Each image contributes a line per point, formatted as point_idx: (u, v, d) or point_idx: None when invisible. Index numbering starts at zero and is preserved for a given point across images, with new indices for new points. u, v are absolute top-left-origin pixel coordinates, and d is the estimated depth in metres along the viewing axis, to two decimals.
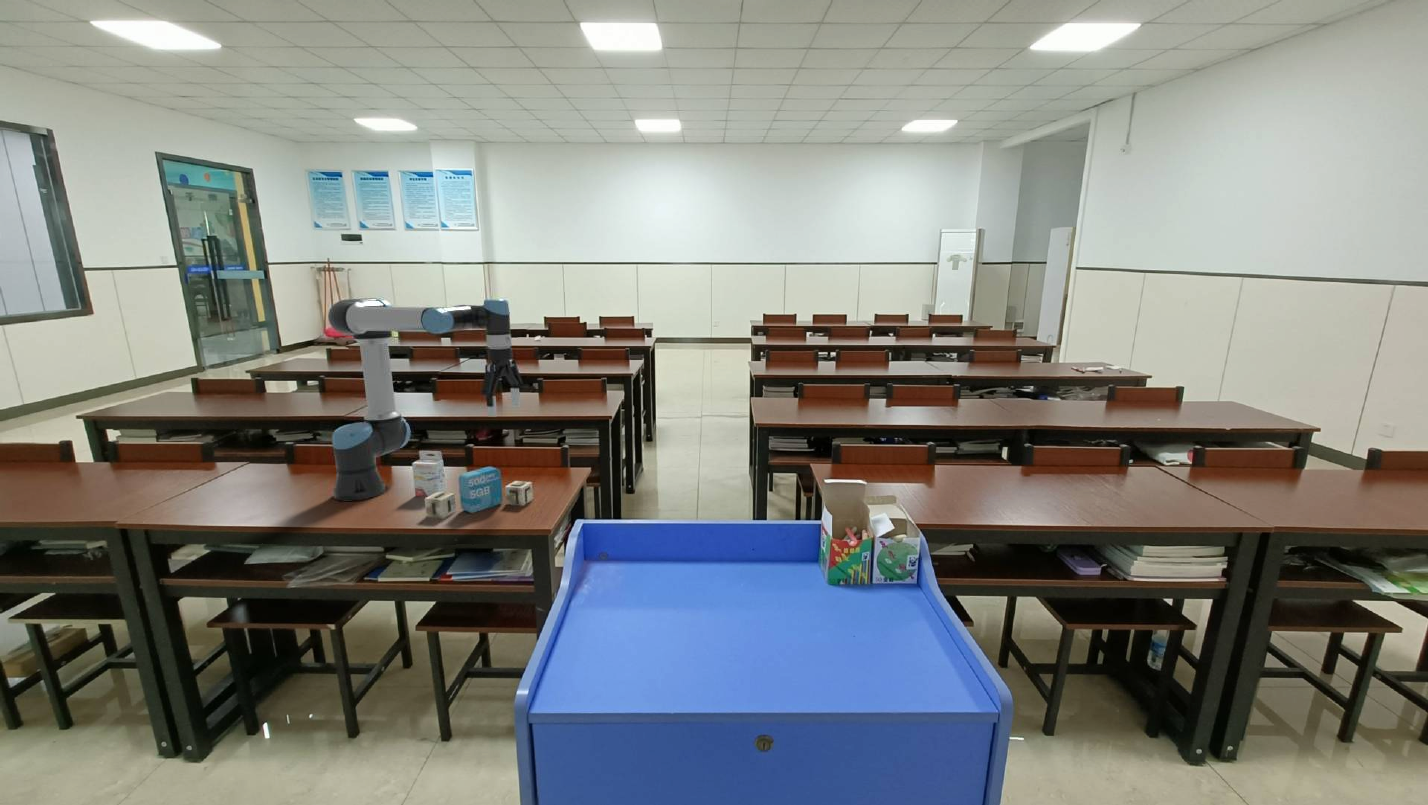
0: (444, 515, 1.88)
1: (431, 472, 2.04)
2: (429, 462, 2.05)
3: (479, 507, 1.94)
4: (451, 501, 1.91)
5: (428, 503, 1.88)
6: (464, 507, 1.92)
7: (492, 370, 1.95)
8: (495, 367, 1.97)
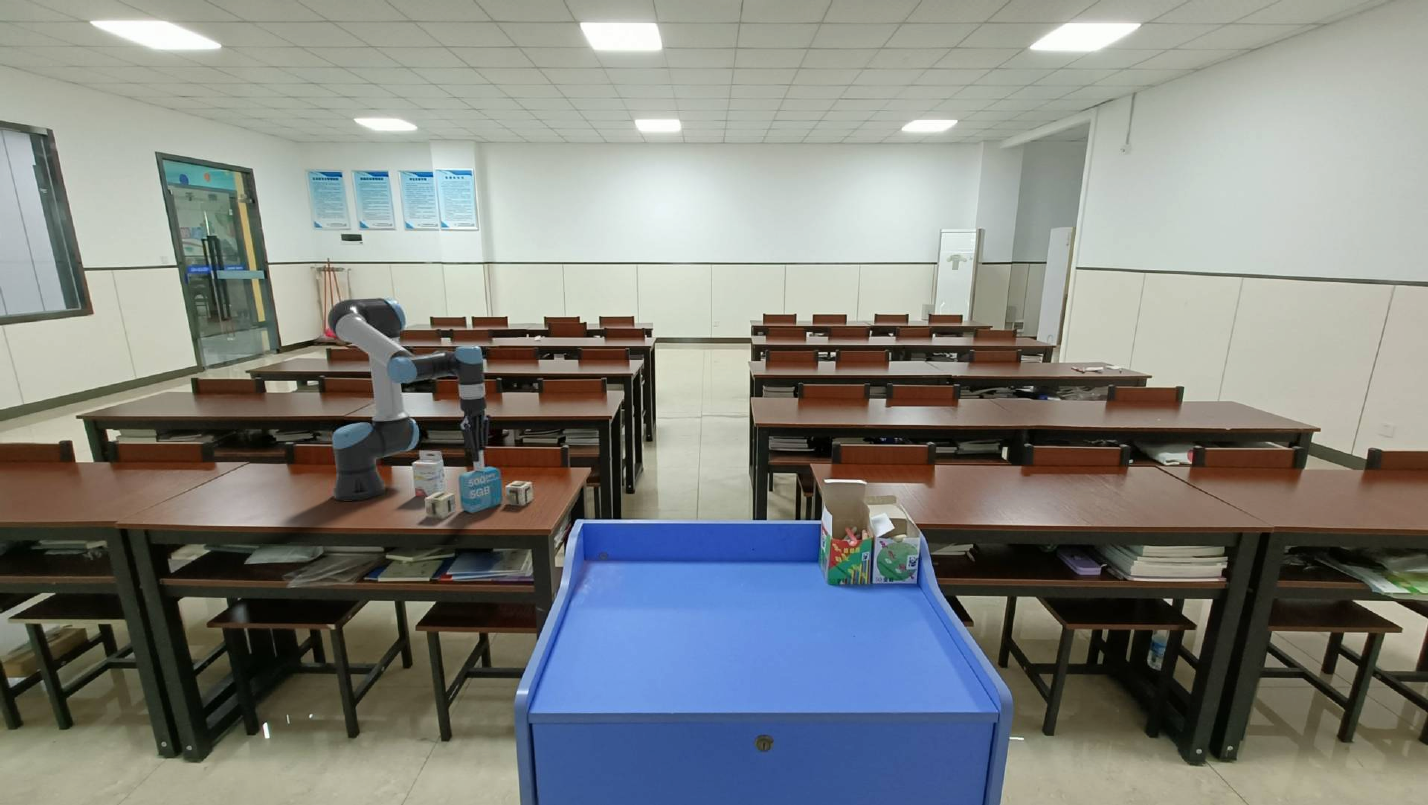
0: (444, 515, 1.88)
1: (431, 472, 2.04)
2: (429, 462, 2.05)
3: (479, 507, 1.94)
4: (451, 501, 1.91)
5: (428, 503, 1.88)
6: (464, 507, 1.92)
7: (467, 428, 1.86)
8: (468, 420, 1.87)
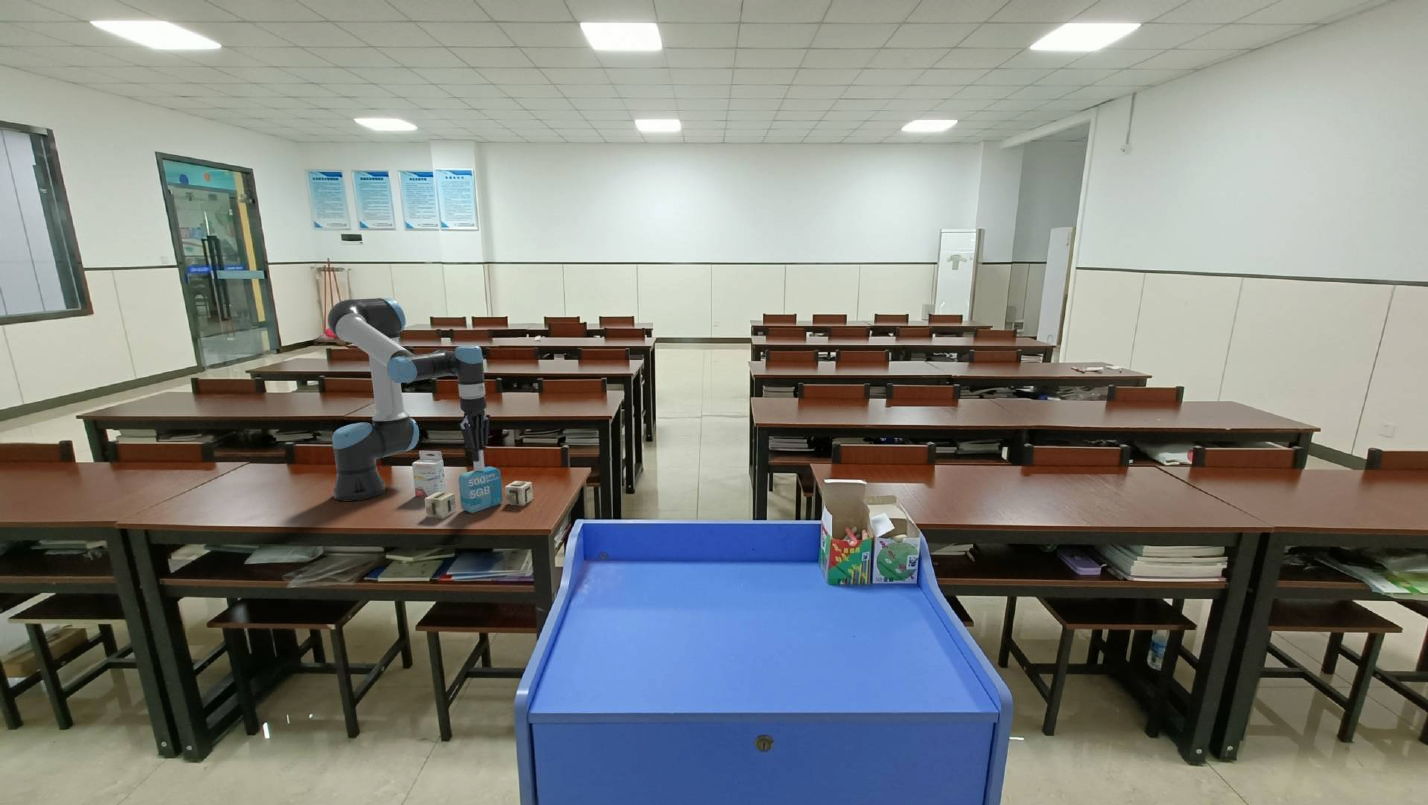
0: (444, 515, 1.88)
1: (431, 472, 2.04)
2: (429, 462, 2.05)
3: (479, 507, 1.94)
4: (451, 501, 1.91)
5: (428, 503, 1.88)
6: (464, 507, 1.92)
7: (467, 428, 1.86)
8: (468, 420, 1.87)
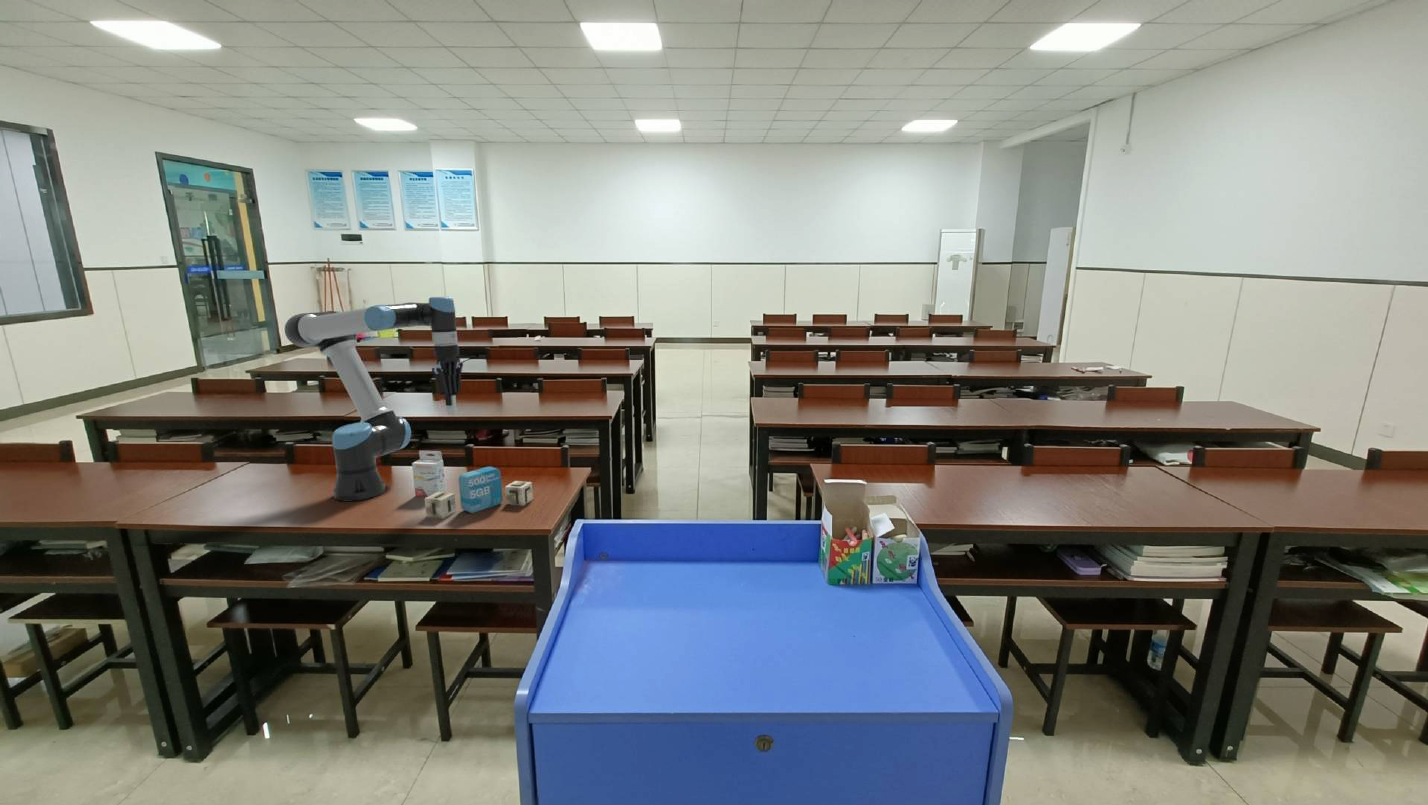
0: (444, 515, 1.88)
1: (431, 472, 2.04)
2: (429, 462, 2.05)
3: (479, 507, 1.94)
4: (451, 501, 1.91)
5: (428, 503, 1.88)
6: (464, 507, 1.92)
7: (440, 372, 2.00)
8: (441, 366, 2.01)
